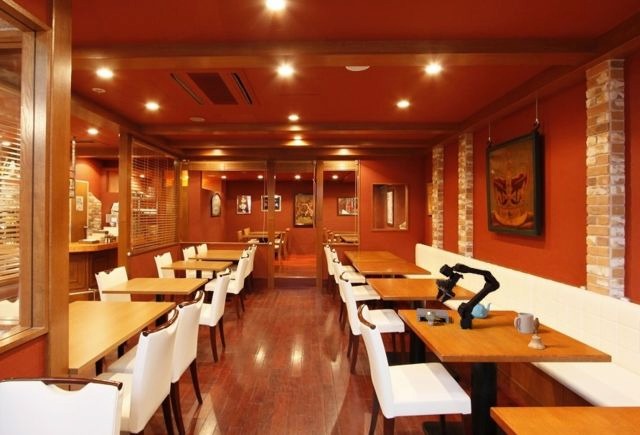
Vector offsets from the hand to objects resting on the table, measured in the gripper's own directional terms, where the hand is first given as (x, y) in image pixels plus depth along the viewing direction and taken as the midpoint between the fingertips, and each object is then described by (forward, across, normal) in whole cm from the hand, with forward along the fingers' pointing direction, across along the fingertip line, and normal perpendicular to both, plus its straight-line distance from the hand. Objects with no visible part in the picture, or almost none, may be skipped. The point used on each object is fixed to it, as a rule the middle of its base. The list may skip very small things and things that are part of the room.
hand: (438, 301), depth 241 cm
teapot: (-4, -29, +40) cm, 50 cm away
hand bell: (-10, +34, +46) cm, 57 cm away
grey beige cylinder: (+16, -6, +6) cm, 18 cm away
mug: (-13, +8, +51) cm, 53 cm away
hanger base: (+14, -19, +11) cm, 26 cm away
